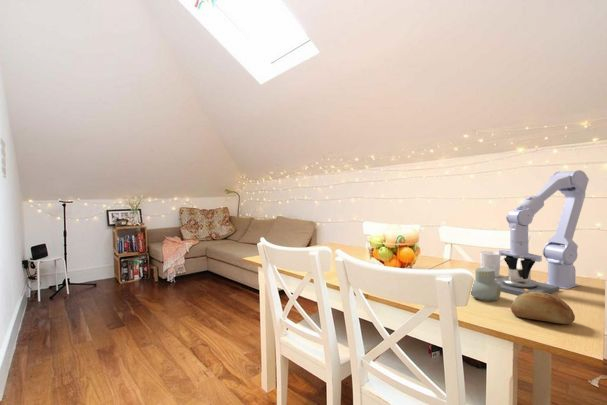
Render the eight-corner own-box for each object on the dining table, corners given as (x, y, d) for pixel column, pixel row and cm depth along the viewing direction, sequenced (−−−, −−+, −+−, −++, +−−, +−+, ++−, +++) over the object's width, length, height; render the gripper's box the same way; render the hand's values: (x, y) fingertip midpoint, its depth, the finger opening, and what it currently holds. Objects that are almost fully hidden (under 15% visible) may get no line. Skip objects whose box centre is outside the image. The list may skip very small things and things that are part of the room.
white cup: (481, 272, 150) (481, 250, 150) (501, 274, 145) (501, 252, 145) (478, 276, 144) (478, 253, 143) (499, 278, 139) (499, 255, 139)
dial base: (509, 279, 137) (509, 275, 137) (559, 290, 122) (559, 285, 122) (482, 286, 129) (481, 282, 129) (532, 299, 113) (532, 294, 113)
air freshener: (495, 305, 108) (495, 274, 108) (467, 300, 114) (467, 271, 114) (501, 296, 117) (501, 268, 116) (476, 292, 122) (475, 265, 122)
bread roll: (575, 332, 87) (575, 302, 87) (508, 320, 96) (508, 292, 96) (574, 320, 95) (574, 292, 94) (512, 310, 104) (512, 284, 103)
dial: (526, 280, 130) (526, 265, 130) (544, 288, 119) (544, 272, 119) (497, 280, 131) (496, 266, 131) (511, 288, 120) (511, 272, 120)
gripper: (493, 240, 129) (494, 274, 130) (533, 245, 116) (533, 283, 117) (505, 238, 133) (505, 272, 133) (545, 243, 120) (545, 280, 120)
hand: (519, 277), depth 125 cm, fingers closed on dial, 4 cm apart
